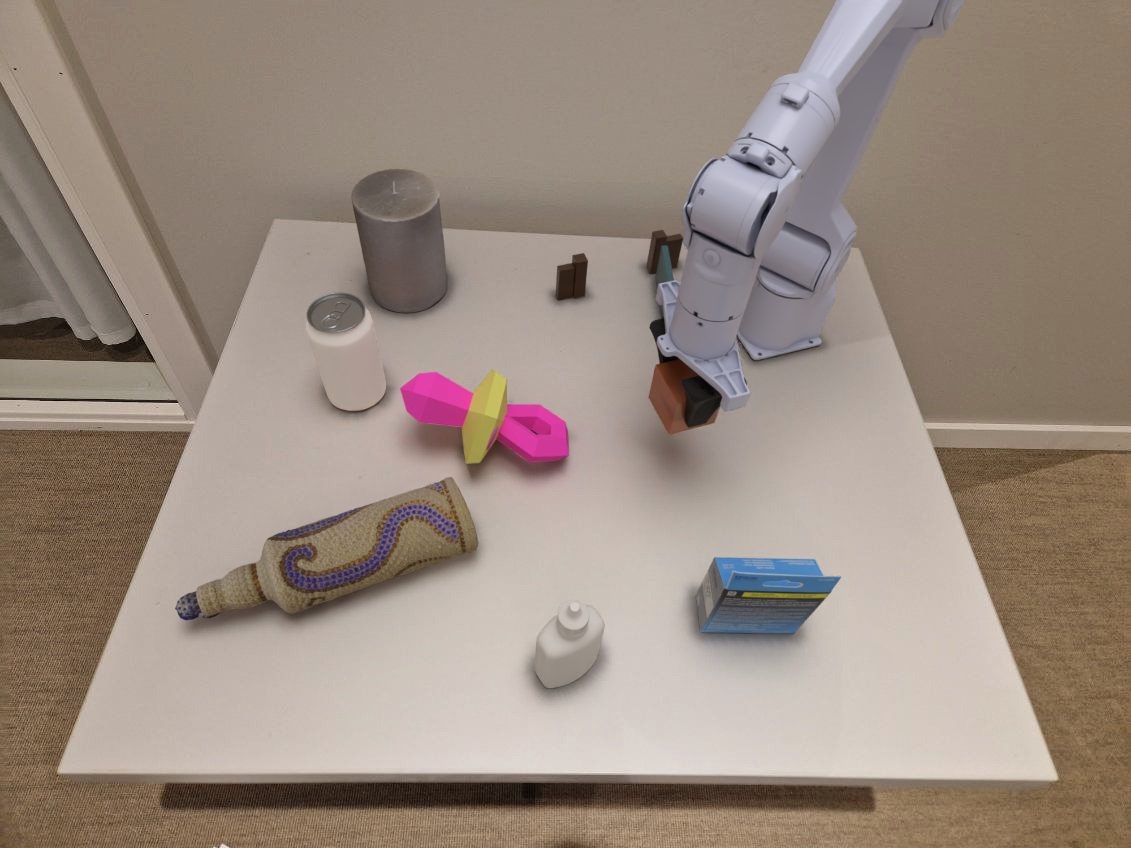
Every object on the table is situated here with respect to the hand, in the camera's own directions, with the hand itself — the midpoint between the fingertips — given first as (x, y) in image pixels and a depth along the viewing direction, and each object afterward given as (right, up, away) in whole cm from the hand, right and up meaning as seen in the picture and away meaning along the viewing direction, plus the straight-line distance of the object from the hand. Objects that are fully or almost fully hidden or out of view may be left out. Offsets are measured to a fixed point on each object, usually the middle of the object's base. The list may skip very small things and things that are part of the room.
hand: (683, 400), depth 71 cm
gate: (-5, +16, +22) cm, 27 cm away
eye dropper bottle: (-12, -23, -8) cm, 27 cm away
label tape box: (+5, -20, -4) cm, 21 cm away
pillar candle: (-31, +15, +20) cm, 40 cm away
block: (0, -1, +1) cm, 1 cm away
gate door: (+1, +13, +20) cm, 24 cm away
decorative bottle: (-32, -15, -3) cm, 36 cm away
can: (-35, +1, +10) cm, 36 cm away
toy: (-20, -4, +6) cm, 21 cm away
